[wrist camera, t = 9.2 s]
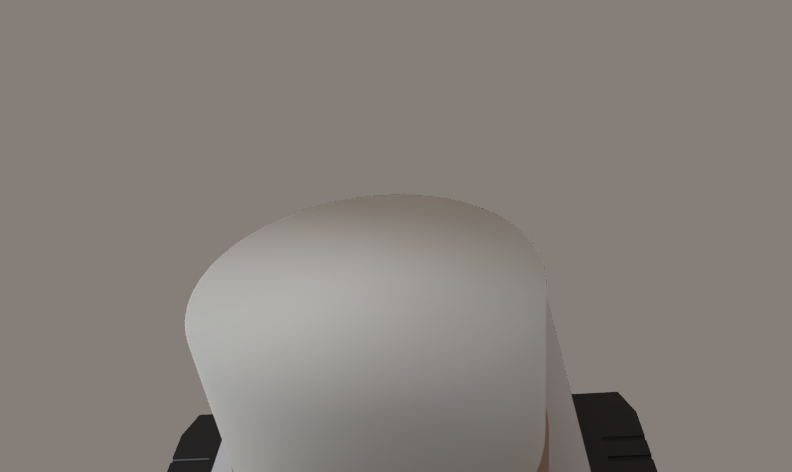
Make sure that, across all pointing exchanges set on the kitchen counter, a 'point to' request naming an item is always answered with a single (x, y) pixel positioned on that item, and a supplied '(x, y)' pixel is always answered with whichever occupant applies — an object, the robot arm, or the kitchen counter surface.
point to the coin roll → (377, 341)
